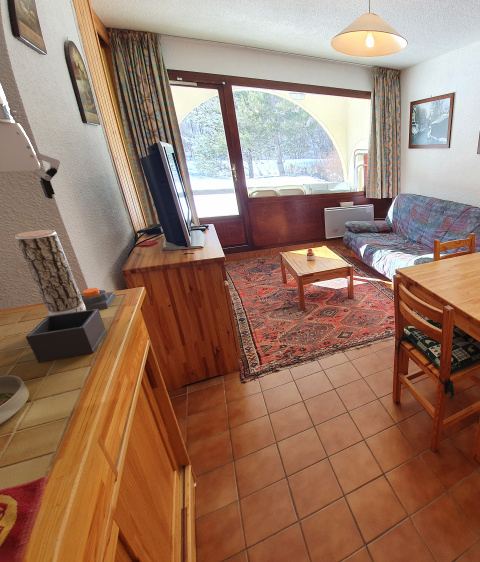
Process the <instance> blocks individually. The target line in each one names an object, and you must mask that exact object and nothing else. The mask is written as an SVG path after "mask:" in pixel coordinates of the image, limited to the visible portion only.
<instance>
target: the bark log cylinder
mask: <svg viewBox="0 0 480 562" xmlns="http://www.w3.org/2000/svg"><path fill="white" fill-rule="evenodd" d="M14 239H15V241H16V243H17V246H18V248H19V250H20V252H21V254H22V257H23V259H24V261H25V264H26V265H27V268H28V270H29V272H30V275H31V277H32V280H33V281H34V284H35V286H36V288H37V291H38V292H39V295H40V297H41V299H42V302H43V304H44V306H45V308H46V310H47V313H48V316H51V315H58V314H66V313H73V312H80V311H87V310H86V308H85V305H84V302H83V300H82V297H81V295H80V294H81V292H80V290H79V287H78V285H77V281H76V279H75V277H74V275H73V272H72V269H71V267H70V264H69V262H68V259H67V256H66V254H65V252H64V248H63V246H62V244H61V241H60V238H59V236H58V234H57V232H56V230H54V229H41V230H40V229H39V230H31V231H24V232H20V233H16V234H15V235H14Z"/></svg>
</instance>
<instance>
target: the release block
mask: <svg viewBox="0 0 480 562" xmlns="http://www.w3.org/2000/svg"><path fill="white" fill-rule="evenodd" d="M98 290H99V293H100V294H99V295H97V296H93V297H88V298H86V297H84V296H83V293H80V295H81V297H82V300H83V302H84V305H85V308H86V310H94V309H98V310H99V311H100V310H104V309H105V310H106V309H109V307H110V306H111V304H113V302H114V301H115V299H116V298H117V296H116V293H115V292H107V291H106V290H105V289H98Z"/></svg>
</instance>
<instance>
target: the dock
mask: <svg viewBox="0 0 480 562" xmlns="http://www.w3.org/2000/svg"><path fill="white" fill-rule="evenodd" d="M106 334H107V330H106V326H105V324H104V321H103V318H102V316H101V312H100V309H99V310H98V309H94V310H87V311H80V312H73V313H66V314H58V315H51V316H50V315H47V316H46V317H45V318H43V320H42V321H40V322H39V323H38V324H37V325H36V326H35V327H34V328H33V329H32V330H31V331H30V332H29V333H28V334H26V336H25V339H26V340H27V343H28V345H29V346H30V349H31V351H32V353H33V355H34V356H35V359H36V361H37V363H38V364H40V363H46V362H51V361H57V360H62V359H68V358H74V357H78V356H83V355H88V354H89V355H90V354H94V353H95V351H96V350H97V348H98V347H99V345H100V343H101V342H102V340H103V339H104V337H105V336H106Z"/></svg>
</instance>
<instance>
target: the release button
mask: <svg viewBox="0 0 480 562" xmlns="http://www.w3.org/2000/svg"><path fill="white" fill-rule="evenodd" d="M99 290H100V289H99V288H98V287H90V288H86V289H84V290H82V292H81V294H83V296H84V297H86V298H88V297H93V296H97V295H99V294H100V293H99Z"/></svg>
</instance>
